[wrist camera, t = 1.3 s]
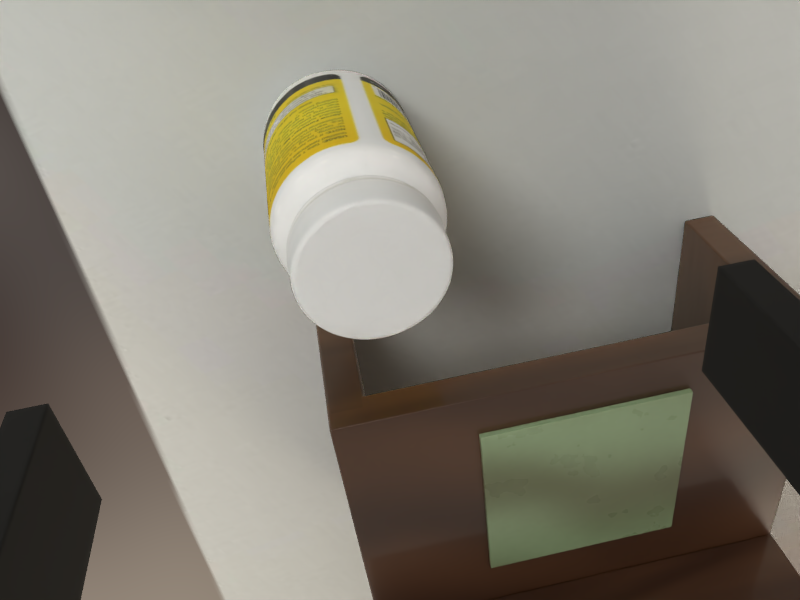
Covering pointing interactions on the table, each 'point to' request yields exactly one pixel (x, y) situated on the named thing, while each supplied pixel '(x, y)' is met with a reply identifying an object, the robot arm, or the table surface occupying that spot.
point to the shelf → (566, 469)
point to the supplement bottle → (354, 207)
